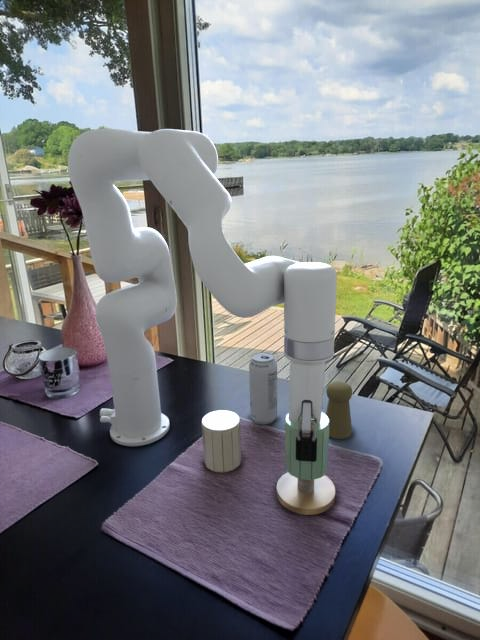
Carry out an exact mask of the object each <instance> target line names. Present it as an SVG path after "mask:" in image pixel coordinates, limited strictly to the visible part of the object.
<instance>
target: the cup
mask: <svg viewBox="0 0 480 640" xmlns="http://www.w3.org/2000/svg"><path fill="white" fill-rule="evenodd" d="M201 435H202V437H201V438H202V449H203V463H204V465H205V467H206V468H207V469H208V470H210V471H212V472H214V473H227V472H231V471H234V470H235V469H237V468H238V467H239V466H240V465H241V462H242V437H241V435H242V434H241V419H240V416H239V415H238V414H237V413H236V412H234V411H231V410H226V409H218V410H213V411H210V412H208V413H207V414H205V415H204V416H203V417H202V419H201Z"/></svg>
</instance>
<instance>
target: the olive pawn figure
mask: <svg viewBox="0 0 480 640" xmlns="http://www.w3.org/2000/svg"><path fill="white" fill-rule="evenodd" d="M326 386H327V387H326V390H325V393H326V396H327V398H328V399H327V405H326V409H325V414H326V415H327V416H328V418H329V438H332V439H335V440H344V439H347V438H350V437H351V435H352V434H353V428H352V427H353V426H352V416H351V406H350V405H351V404H350V400H351V399H352V396H353V388H352V386H351V385H350V384H349V383H348V382H346V381H343V380H335V381H331V382H329V383H328V385H326Z"/></svg>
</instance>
